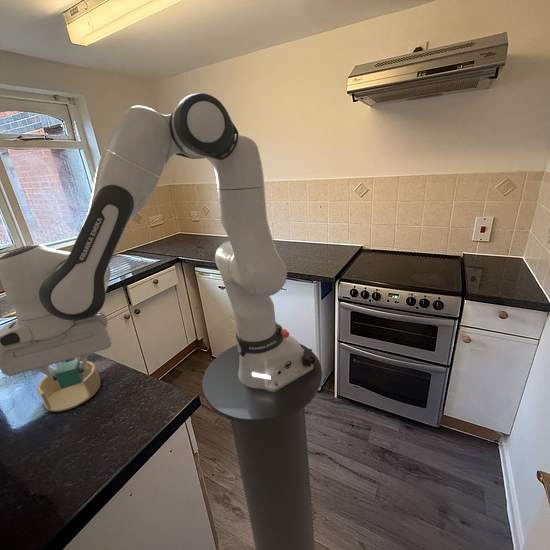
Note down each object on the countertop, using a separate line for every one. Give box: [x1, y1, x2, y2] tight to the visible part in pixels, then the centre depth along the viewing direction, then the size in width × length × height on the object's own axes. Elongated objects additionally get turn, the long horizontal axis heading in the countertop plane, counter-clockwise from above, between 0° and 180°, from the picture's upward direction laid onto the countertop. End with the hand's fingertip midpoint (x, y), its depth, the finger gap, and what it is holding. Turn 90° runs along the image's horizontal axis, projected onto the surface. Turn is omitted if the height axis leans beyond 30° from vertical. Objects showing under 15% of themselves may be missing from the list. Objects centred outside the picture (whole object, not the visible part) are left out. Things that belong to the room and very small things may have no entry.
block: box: [55, 359, 84, 389], centre depth 68 cm, size 4×4×4 cm
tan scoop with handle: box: [36, 357, 101, 413], centre depth 90 cm, size 14×21×6 cm, turn 24°
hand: (70, 374), depth 68 cm, fingers closed on block, 4 cm apart
